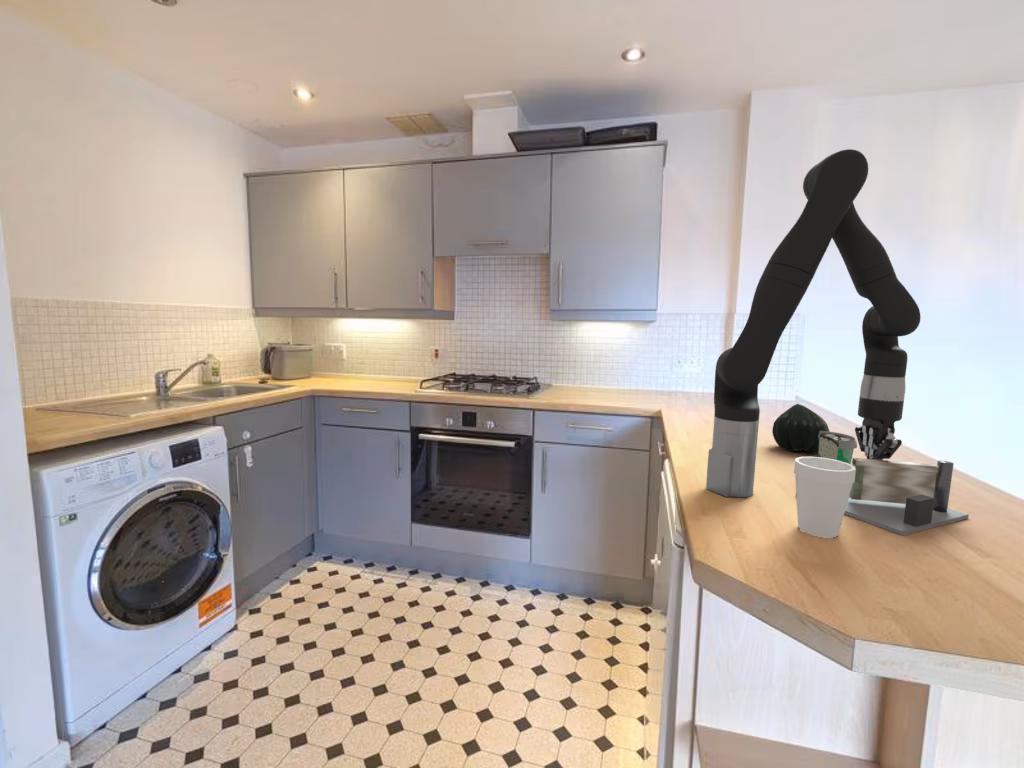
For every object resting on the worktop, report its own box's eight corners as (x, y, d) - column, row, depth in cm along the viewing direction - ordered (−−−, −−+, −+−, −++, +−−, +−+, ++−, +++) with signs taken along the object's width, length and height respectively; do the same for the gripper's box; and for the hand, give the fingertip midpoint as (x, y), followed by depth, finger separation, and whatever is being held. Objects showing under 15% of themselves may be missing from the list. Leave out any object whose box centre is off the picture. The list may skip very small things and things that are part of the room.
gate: (927, 503, 98) (932, 463, 97) (933, 507, 96) (938, 466, 95) (848, 496, 102) (852, 457, 101) (852, 499, 100) (856, 460, 99)
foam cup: (849, 547, 81) (857, 474, 80) (788, 534, 86) (794, 465, 85) (846, 527, 89) (853, 461, 88) (789, 516, 94) (795, 453, 93)
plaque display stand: (902, 535, 86) (909, 477, 85) (795, 496, 106) (800, 449, 104) (968, 518, 95) (975, 465, 93) (858, 485, 114) (863, 440, 113)
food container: (863, 481, 117) (868, 442, 115) (836, 479, 118) (840, 441, 117) (840, 467, 129) (843, 431, 127) (815, 465, 130) (818, 430, 129)
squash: (823, 443, 133) (830, 400, 140) (765, 436, 143) (774, 396, 149) (827, 467, 142) (833, 425, 149) (772, 459, 152) (780, 420, 158)
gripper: (922, 402, 93) (911, 486, 96) (881, 392, 106) (873, 466, 109) (881, 401, 94) (871, 483, 97) (845, 391, 107) (837, 464, 110)
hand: (872, 474), depth 103 cm, fingers closed
